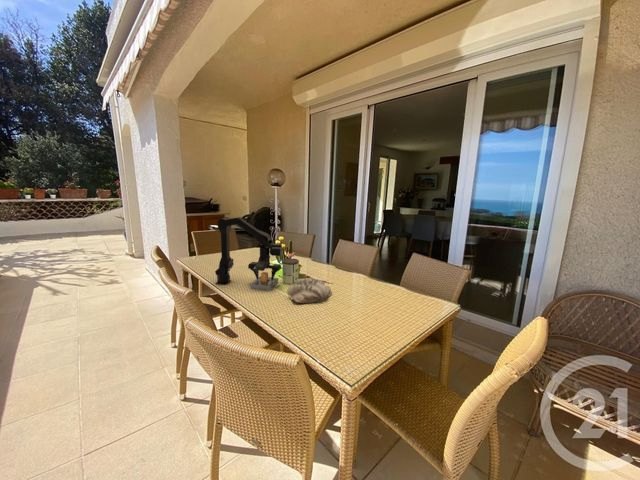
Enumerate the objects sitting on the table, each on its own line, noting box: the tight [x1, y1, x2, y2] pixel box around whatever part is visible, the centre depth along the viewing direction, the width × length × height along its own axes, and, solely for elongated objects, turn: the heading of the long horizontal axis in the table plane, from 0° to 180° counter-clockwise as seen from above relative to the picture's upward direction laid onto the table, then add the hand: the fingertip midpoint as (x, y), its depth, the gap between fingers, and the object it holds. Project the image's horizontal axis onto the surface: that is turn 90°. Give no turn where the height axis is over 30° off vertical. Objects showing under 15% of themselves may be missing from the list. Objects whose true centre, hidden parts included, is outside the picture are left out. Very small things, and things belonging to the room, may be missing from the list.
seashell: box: [286, 277, 333, 304], centre depth 141 cm, size 28×18×15 cm, turn 133°
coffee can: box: [281, 258, 300, 286], centre depth 160 cm, size 10×10×14 cm
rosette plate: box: [249, 275, 279, 292], centre depth 153 cm, size 12×14×4 cm
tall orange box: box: [260, 271, 269, 283], centre depth 153 cm, size 3×3×8 cm
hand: (264, 280), depth 153 cm, fingers open, 9 cm apart
